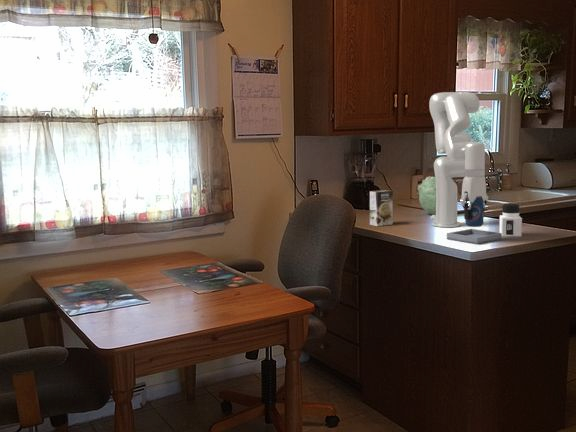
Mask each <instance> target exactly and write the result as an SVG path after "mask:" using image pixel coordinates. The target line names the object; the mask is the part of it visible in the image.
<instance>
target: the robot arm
mask: <svg viewBox="0 0 576 432" xmlns="http://www.w3.org/2000/svg"><path fill="white" fill-rule="evenodd" d="M428 105H429V106H428V107H429V112H430V115H431V118H432V121H433V125H434V137H435V148H436V151H437V152H438V153H439V154H446V156H440V157H439V156H438V158H437V157H436V159H435V161H434V162H433V170H434V177H435V179H436V215H432V214H431V216H430V217H429V218H430V220H433V221H432V226H433V227H438V228H456V227H460V226H461V222H460V221H458V185H457V183H456V182H455V181H454V179H453V178H460V177H461V178H463V180H462V185H461V198H460V200H459V202H460V204H461V206H462V208H463V210H464V212H463V213H464V216H463V217H464V220H465V219H468V220H471V219H472V210H470V209H471V206H472V203H473V202H474V201H475V199H476V197H482V199H483V201H484V208H483V219H484V218H485V208H486V204H487V202H488V200H489V197H490V196H488V194H487V184H486V177H485V176H486V175H485V172H486V171H485V168H486V167H485V164H486V163H485V161H486V159H485V158H486V155H485V154H486V145H485V143H483V142H478V141H473V140H472V137H471V135H470V133H468V132H466V130H467V129H469V127H470V126H471V123H472V121H471V117H470V114H474V113H477V112H478V111H479V109H480V99H479V96H477V94H476V93H474V92H469V91H455V92H454V91H450V92H449V91H448V92H447V91H443V92H437V93H433V95H431V96H430V99H429V104H428ZM467 200H469V202H468V201H467ZM467 203H468V204H469V206H468V205H467Z"/></svg>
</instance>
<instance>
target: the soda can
mask: <svg viewBox="0 0 576 432" xmlns="http://www.w3.org/2000/svg"><path fill="white" fill-rule="evenodd" d="M467 201H468V202H469V200H467ZM467 205H468V206H469V204H468V203H467ZM483 208H484V201H483V199H482V197H476V199H475V201H474V202H473V203H472V206H471V209H470V210H472V219H471V220H468V219H464V222H465V225H466V226H467V227H468V228H480V227H483V224H484V218H483ZM484 209H485V208H484Z"/></svg>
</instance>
